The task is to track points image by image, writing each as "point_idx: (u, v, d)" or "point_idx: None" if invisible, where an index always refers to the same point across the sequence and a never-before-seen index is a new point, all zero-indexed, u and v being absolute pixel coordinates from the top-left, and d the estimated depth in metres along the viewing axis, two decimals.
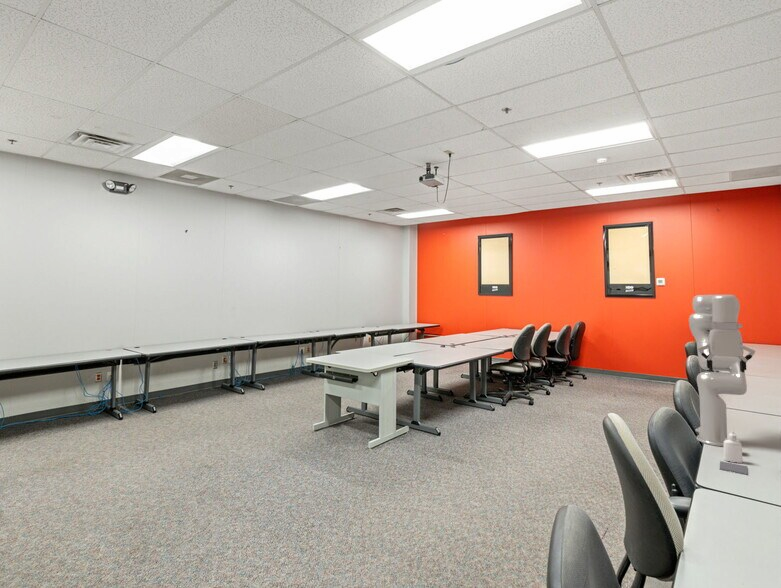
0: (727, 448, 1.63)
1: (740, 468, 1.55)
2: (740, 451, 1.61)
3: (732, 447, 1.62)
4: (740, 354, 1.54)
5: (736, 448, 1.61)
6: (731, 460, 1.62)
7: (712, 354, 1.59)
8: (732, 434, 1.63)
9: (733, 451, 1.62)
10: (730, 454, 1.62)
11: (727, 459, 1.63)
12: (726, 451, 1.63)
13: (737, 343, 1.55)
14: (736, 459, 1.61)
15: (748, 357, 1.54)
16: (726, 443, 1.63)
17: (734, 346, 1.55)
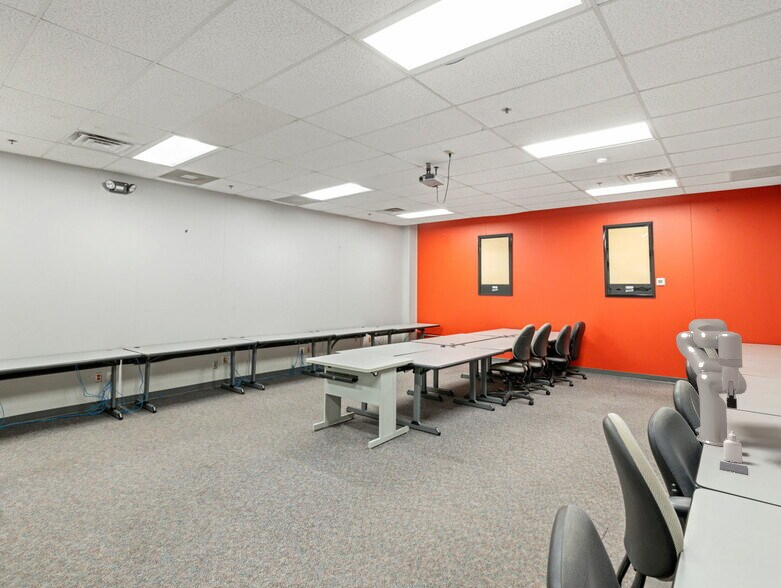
0: (727, 448, 1.63)
1: (740, 468, 1.55)
2: (740, 451, 1.61)
3: (732, 447, 1.62)
4: None
5: (736, 448, 1.61)
6: (731, 460, 1.62)
7: (736, 391, 1.63)
8: (732, 434, 1.63)
9: (733, 451, 1.62)
10: (730, 454, 1.62)
11: (727, 459, 1.63)
12: (726, 451, 1.63)
13: None
14: (736, 459, 1.61)
15: None
16: (726, 443, 1.63)
17: None
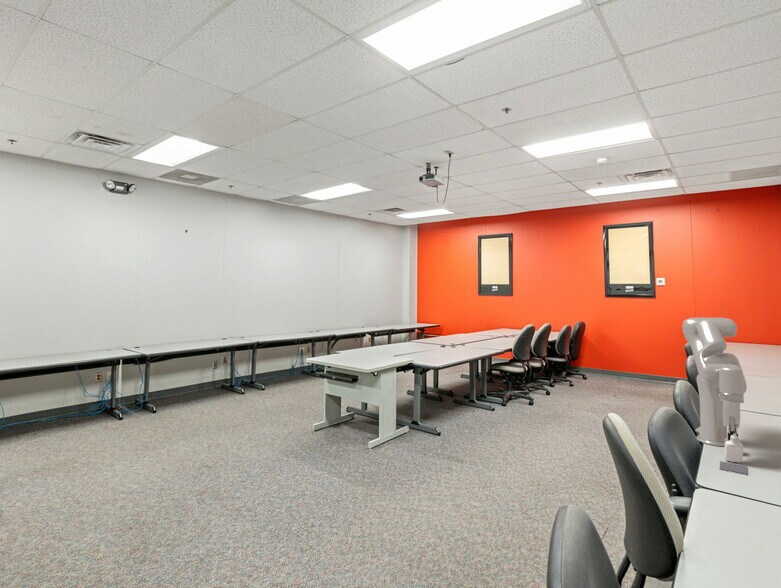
0: (728, 449, 1.61)
1: (740, 468, 1.55)
2: (741, 452, 1.60)
3: (733, 449, 1.60)
4: None
5: (737, 450, 1.60)
6: (731, 460, 1.62)
7: (737, 427, 1.60)
8: (734, 436, 1.60)
9: (734, 452, 1.61)
10: (731, 455, 1.61)
11: (727, 459, 1.62)
12: (727, 452, 1.62)
13: None
14: (737, 459, 1.61)
15: None
16: (727, 445, 1.61)
17: None
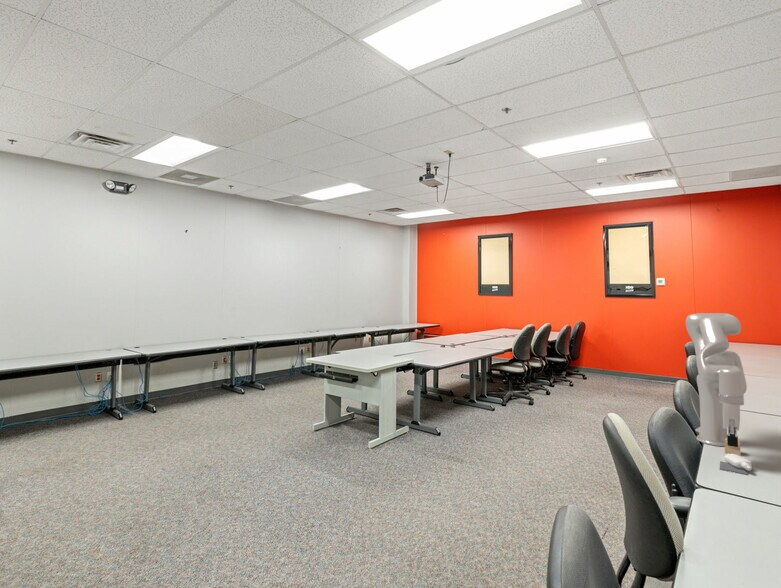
0: (733, 465, 1.57)
1: None
2: None
3: None
4: None
5: None
6: None
7: (737, 430, 1.58)
8: (748, 469, 1.52)
9: None
10: None
11: (727, 461, 1.62)
12: (731, 464, 1.59)
13: None
14: None
15: None
16: (735, 466, 1.56)
17: None
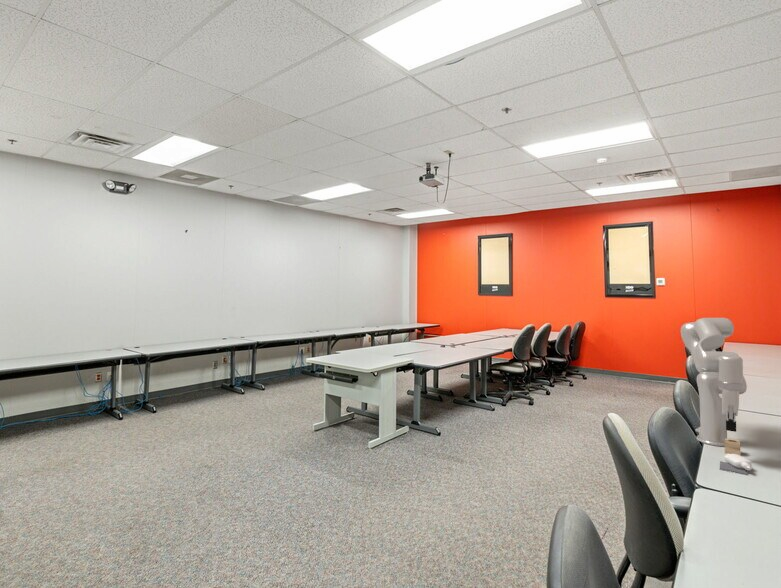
0: (733, 465, 1.57)
1: None
2: None
3: None
4: None
5: None
6: None
7: (736, 415, 1.61)
8: (748, 469, 1.52)
9: None
10: None
11: (727, 461, 1.62)
12: (731, 464, 1.59)
13: None
14: None
15: None
16: (735, 466, 1.56)
17: None
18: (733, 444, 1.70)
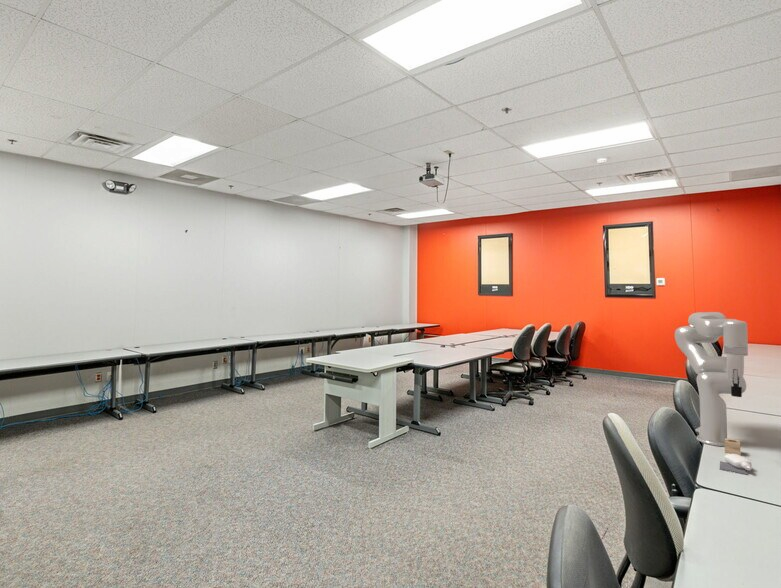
0: (733, 465, 1.57)
1: None
2: None
3: None
4: None
5: None
6: None
7: (740, 379, 1.61)
8: (748, 469, 1.52)
9: None
10: None
11: (727, 461, 1.62)
12: (731, 464, 1.59)
13: None
14: None
15: None
16: (735, 466, 1.56)
17: None
18: (733, 444, 1.70)
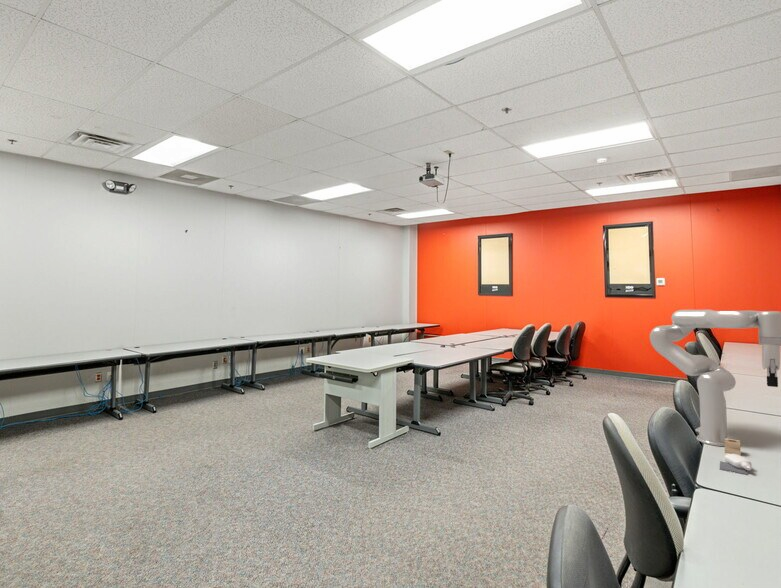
0: (733, 465, 1.57)
1: None
2: None
3: None
4: None
5: None
6: None
7: (778, 369, 1.62)
8: (748, 469, 1.52)
9: None
10: None
11: (727, 461, 1.62)
12: (731, 464, 1.59)
13: None
14: None
15: None
16: (735, 466, 1.56)
17: None
18: (733, 444, 1.70)
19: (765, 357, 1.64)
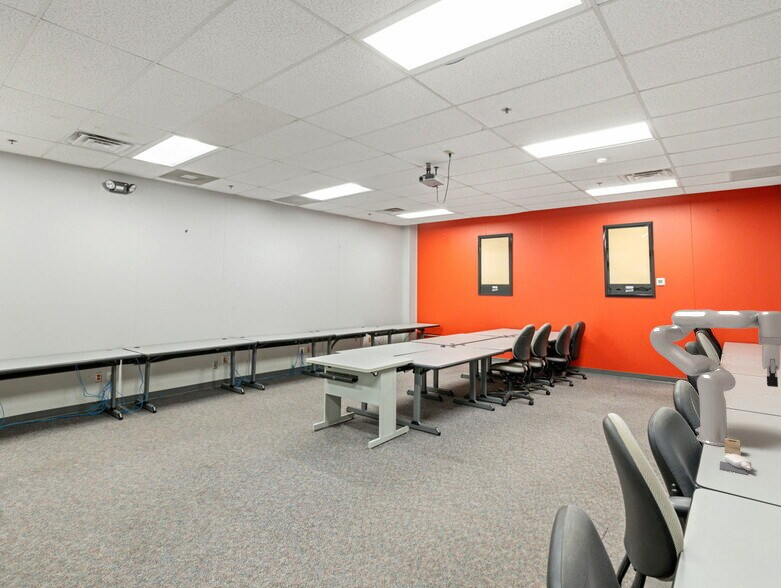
0: (733, 465, 1.57)
1: None
2: None
3: None
4: None
5: None
6: None
7: (778, 369, 1.62)
8: (748, 469, 1.52)
9: None
10: None
11: (727, 461, 1.62)
12: (731, 464, 1.59)
13: None
14: None
15: None
16: (735, 466, 1.56)
17: None
18: (733, 444, 1.70)
19: (765, 357, 1.64)
